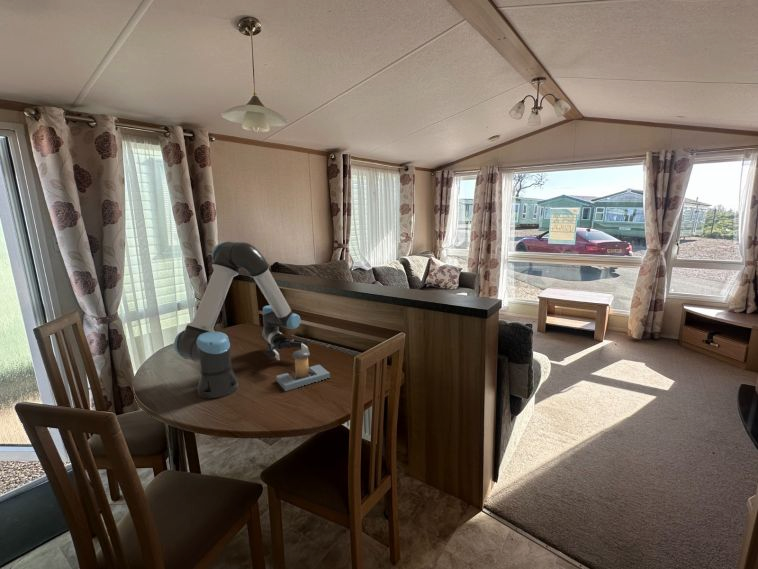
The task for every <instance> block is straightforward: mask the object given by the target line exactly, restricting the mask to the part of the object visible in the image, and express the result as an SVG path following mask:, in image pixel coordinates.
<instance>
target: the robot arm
mask: <svg viewBox="0 0 758 569" xmlns="http://www.w3.org/2000/svg"><path fill="white" fill-rule="evenodd" d="M211 258H212V264H211V267H212V269H213V272H212V274H211V276H210V279H209V280H208V284H207V286H206V289H205V291H204V294H203V296H202V299H200V300H201V301H200V303H199V305H198V308H197V310H196V313H195V314H194V318H193V320H192V321H191V322H190V323H186V326H185V328H184V330H181V331H180V332H179V333H178V334H177V335H176V337H175V338H174V341H173V347H174V350H175V352H176V355H179V356H180V357H182V358H183V359H185V360H190V361H192V362H196V363H199V371H200V377H199V381H198V385H197V396H199V397H200V398H203V399H218V398H222V397H225V396H228V395H230V394H232V393H234V392H235V391H236V390H238V388H239V381H238V378H237V377H236V374H235V372H234V370H233V366H232V356H231V343H230V340H229V339H230V338H229V337H228V335H227V334H226V333H224V332H221V331H216V330H215V329H214V327H215V324H216V322H217V321H218V320H217V319H218V317H219V315H220V312H221V310H222V307H223V304H224V303H225V300H226V297H227V294H228V292H229V289H230V286H231V284H232V282H233V279H234V277H236V276H239V274H240V271H241V270H244V271H246V273H247V275H248V276H249V277H250V278H253V279H254V281H255V283H256V285H257V286H258V288H259V290H260V292H261V294H263V296H264V298H265V299H266V302H267V303H268V304H269V305H265V306H263V307H262V313H261V314H262V322H263V330H262V332H261V333H262V335H261V336H262V337H263V339H264V340H265V341H266V342H268V343H267V347H266V349H265V357H268V356H270V358H273V357H274V358H275V359H276V360H277V361H280V353H279V352H278V351H281V350H284V349H287V348H289V349H291V348H299V349H300V350H308V351H309V347H308V346H309V344H308V343H309V342H308V341H307V340H303V339H298V338H292V339H288V337H287V336H286V335H285V334H283V333H282V332H280V327H281V328H286V329H290V330H291V329H293V330H295V329H297V328H298V327H299V326H300V325H301V321H302V320H301V317H300V315H299V314H297V313H294V312H293V311H292V309H291V307H290V305H289V303H288V301H287V300H286V298H285V297H284V294H283V293H282V291H281V289H280V288H279V285H278V284H277V282H276V280H275V278H274V277H273V275H272V273H271V272H270V270H269V269H270V265H269V263H268V261H267V260H266V258H265V257H264V255H263V254H262V253H261V251H260V250H259V249H258V248H257V247H255V246H254V245H252V244H251V243H249V242H244V241H243V242H242V241H241V242H238V241H237V242H235V241H231V240H230V241H223V242H220V243H217V244H216V245H215V246H214V247H213V250H212V251H211Z"/></svg>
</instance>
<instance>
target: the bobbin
mask: <svg viewBox="0 0 758 569" xmlns="http://www.w3.org/2000/svg"><path fill="white" fill-rule="evenodd" d="M310 355H311V354H310V350H309V349H308V350H302V349H298V350H295V351H293V352H292V358H294V368H295V375H294V376H293V379H294V380H299V379H302V378H306V377H310V376H312V374H311V373H309V367H310V366H309V357H310Z"/></svg>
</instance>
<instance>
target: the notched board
mask: <svg viewBox="0 0 758 569" xmlns="http://www.w3.org/2000/svg"><path fill="white" fill-rule="evenodd" d="M309 372H310V373H309V374H310V375H311V376H310V377H306V378H302V379H299V380H294V377H292V375H290V374H289V373H288V372H286V373H282V374H278V375H275V376H276V377H275V378H276V382H277V383H278V385H279V386H280V387H281V388H282V389H283V390H284V392H289V391H291V390H295V389H298V387H299V388H301V386H302V387H304V385H306V386H309V385H312V384H311V383H313V384H315V383H314V382H316V383H319V382H322V381H321V380H323V381H325V380H324V379H326V380H328V379H327V378H330V379H331V372H330V371H328V370H327V369H325V368H324V367H323V366H322V365H321V364H315V365H312V366H309ZM312 374H313V375H312ZM318 381H319V382H318ZM308 384H309V385H308Z"/></svg>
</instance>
